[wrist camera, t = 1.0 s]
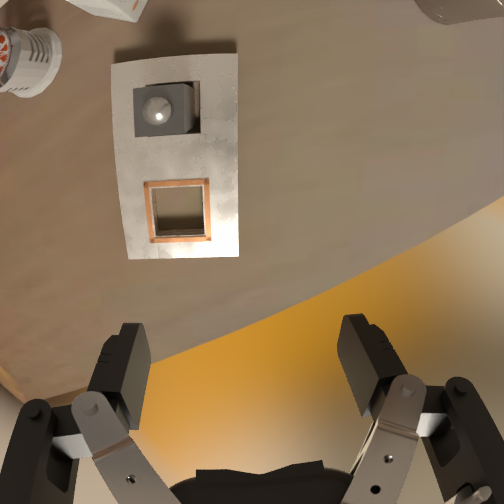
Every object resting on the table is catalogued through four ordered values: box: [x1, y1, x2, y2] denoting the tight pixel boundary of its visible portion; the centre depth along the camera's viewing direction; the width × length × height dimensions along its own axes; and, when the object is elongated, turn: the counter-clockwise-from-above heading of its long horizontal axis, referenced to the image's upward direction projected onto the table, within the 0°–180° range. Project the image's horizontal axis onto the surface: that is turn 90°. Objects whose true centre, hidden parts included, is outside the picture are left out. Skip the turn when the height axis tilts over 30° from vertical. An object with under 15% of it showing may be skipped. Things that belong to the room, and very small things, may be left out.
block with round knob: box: [133, 84, 195, 138], centre depth 28 cm, size 4×4×11 cm
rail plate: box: [111, 54, 238, 259], centre depth 35 cm, size 24×14×2 cm, turn 0°
